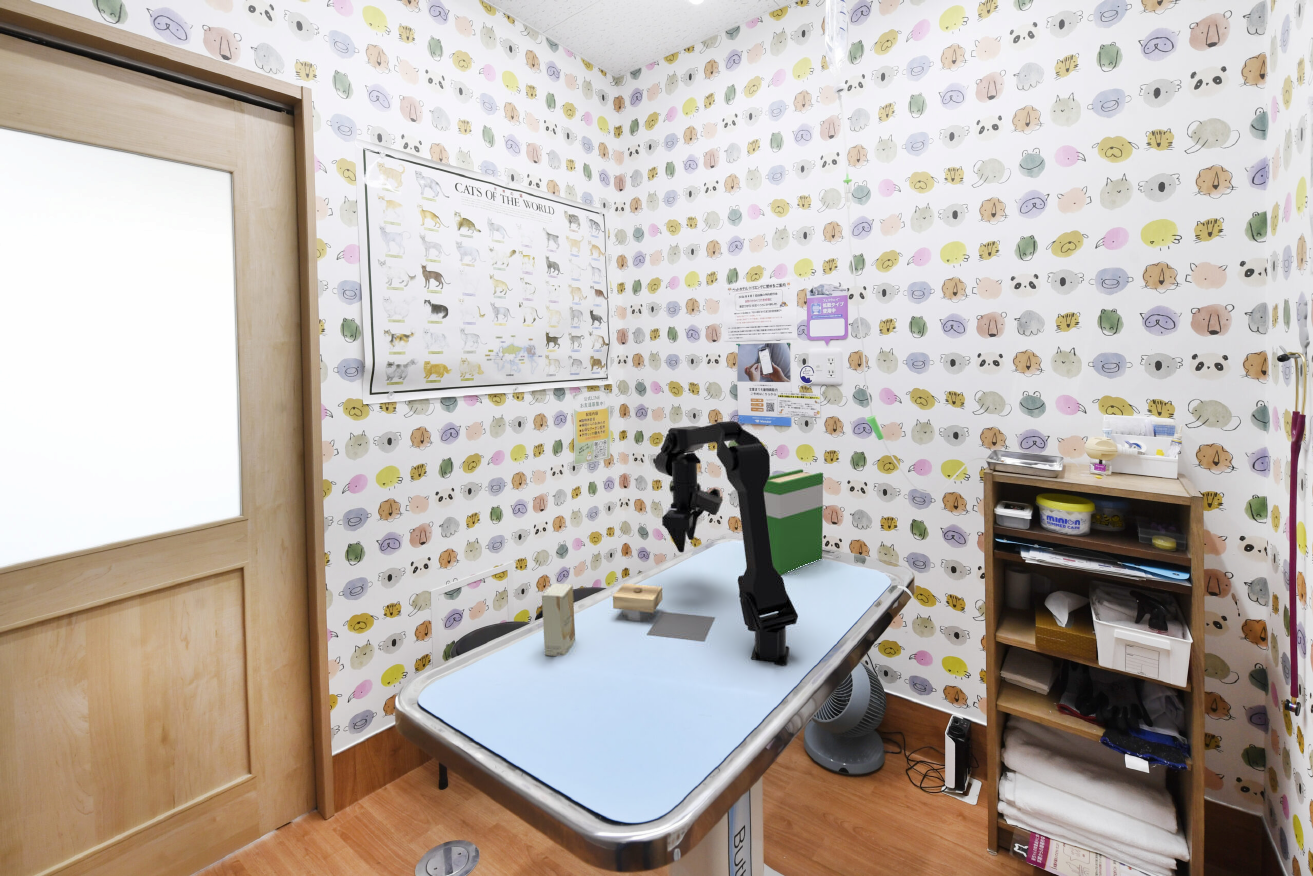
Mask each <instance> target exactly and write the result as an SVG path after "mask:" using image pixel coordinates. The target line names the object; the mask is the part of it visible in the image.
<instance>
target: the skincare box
mask: <svg viewBox="0 0 1313 876" xmlns="http://www.w3.org/2000/svg"><path fill="white" fill-rule="evenodd" d="M573 587H574V586H573V584H565V583H564V584H561V583H552V584H551V585H550V586H549V587H548V588H547V589H546V590H545V592H543V593H542V595H541V602H542V603H541V604H542V605H541V606H542V622H543V623H542V625H543V641H544V642H543V646H544V656H553V657H558V656H566V655H567V654H568V653H569V651H570V650H571V648H572V647H573V645H574V643H575V642H576V627H575V609H574V605H575V604H574V590H573V589H574V588H573Z"/></svg>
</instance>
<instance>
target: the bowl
mask: <svg viewBox="0 0 1313 876" xmlns="http://www.w3.org/2000/svg"><path fill="white" fill-rule="evenodd" d="M622 616H623V618H625V619H626V620H627V622H628V621H629V622H638V623H640V622H645V621H648V620H651V619H652V618H653V616H655V611H654V612H643V611H634V610H624V609H622Z"/></svg>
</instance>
